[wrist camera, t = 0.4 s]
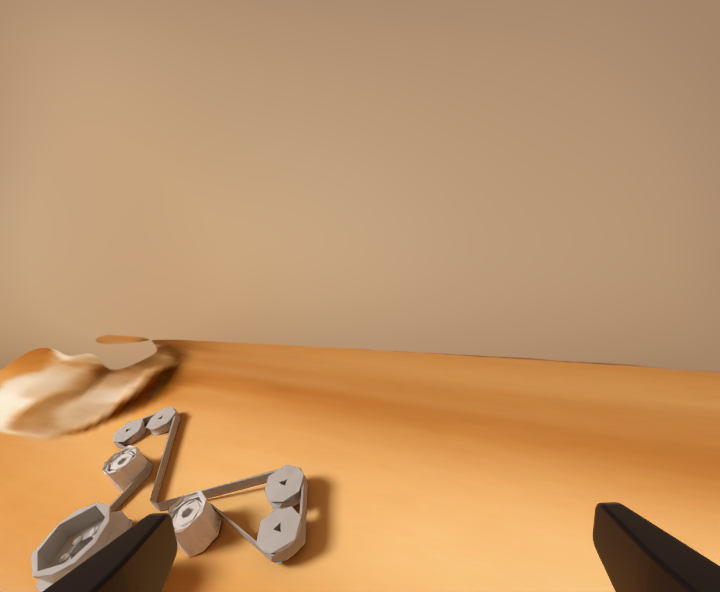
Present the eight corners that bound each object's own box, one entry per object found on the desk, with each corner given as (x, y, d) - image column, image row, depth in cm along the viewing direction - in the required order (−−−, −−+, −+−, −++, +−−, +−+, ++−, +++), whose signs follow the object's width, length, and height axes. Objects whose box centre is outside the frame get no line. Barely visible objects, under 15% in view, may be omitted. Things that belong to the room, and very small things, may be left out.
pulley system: (155, 785, 17) (343, 502, 27) (98, 747, 15) (324, 458, 25) (17, 529, 34) (167, 413, 44) (-18, 495, 32) (147, 382, 42)
